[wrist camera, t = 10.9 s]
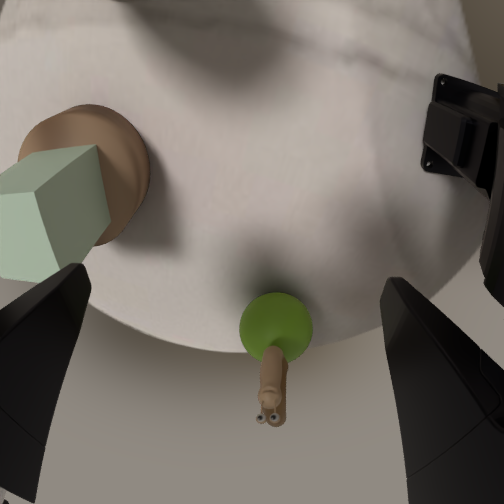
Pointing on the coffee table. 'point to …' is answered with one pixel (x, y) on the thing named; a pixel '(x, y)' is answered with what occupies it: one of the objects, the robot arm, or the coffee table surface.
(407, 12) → the coffee table surface
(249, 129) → the coffee table surface
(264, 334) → the snail figurine
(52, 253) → the sage block
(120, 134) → the walnut base
